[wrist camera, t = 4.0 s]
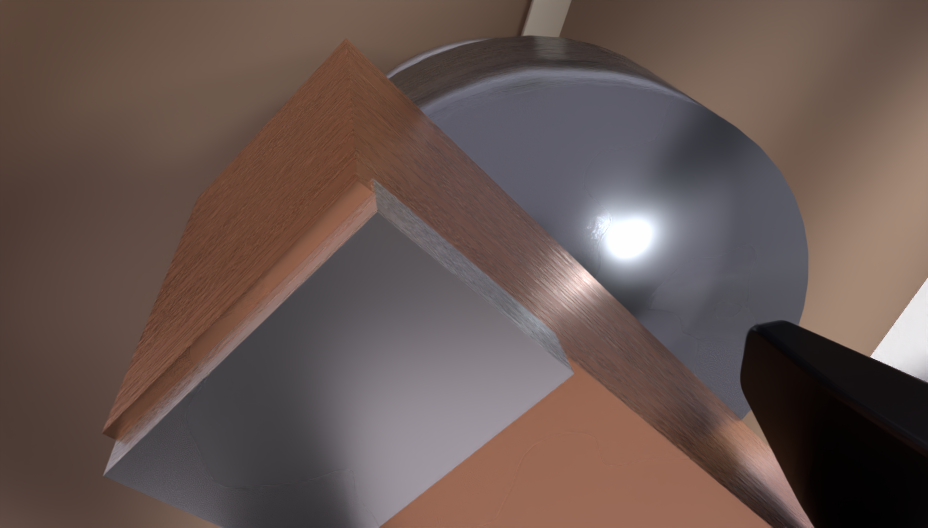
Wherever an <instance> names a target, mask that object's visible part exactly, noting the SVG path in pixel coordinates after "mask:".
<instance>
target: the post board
mask: <svg viewBox="0 0 928 528" xmlns="http://www.w3.org/2000/svg"><path fill="white" fill-rule="evenodd" d="M528 35H534V36H547V37H561V38H568V39H572V40H577V41H581V42H586V43H590V44H595V45H598V46H600V47H603V48H605V49H608V50H611V51H613V52H616V53H618V54H621V55H623V56H625V57H627V58H629V59H631V60H632V61H634V62H636V63H637V64H639V65H641V66H643V67H644V68H646V69H648V70H649V71H651V72H653V73H654V74H656V75H657V76H659V77H660V78H662V79H663V80H665V81H666V82H668V83H670V84H671V85H673V86H674V87H676V88H677V89H679V90H680V91H682V92H683V93H685V94H687V95H688V96H690V97H691V98H693V99H694V100H696V101H697V102H699V103H700V104H702V105H704V106H705V107H707V108H708V109H710V110H711V111H713V112H714V113H716V114H717V115H719V116H721V117H722V118H724V119H725V120H727V121H728V122H730V123H731V124H733V125H734V126H736V127H737V128H738V129H739V130H741V131H742V132H743V133H744V134H745V135H747V136H748V137H749V138H750V139H751V140H753V141H754V142H755V143H756V144H757V145H759V146H760V147H761V148H762V149H763V151H764V152H765V153H766V154H767V156H768V157H769V158H770V159H771V160H772V162H773V163H774V164H775V165H776V166H777V168H778V169H779V170H780V171H781V173H782V175H783V177H784V178H785V180H786V182H787V184H788V186H789V187H790V189H791V191H792V193H793V194H794V196H795V199H796V202H797V205H798V208H799V210H800V213H801V216H802V219H803V222H804V226H805V233H806V239H807V246H808V252H809V256H808V285H807V291H806V298H805V304H804V309H803V312H802V316H801V319H800V322H799V325H798V326H801V327H803V328H805V329H807V330H810V331H812V332H814V333H816V334H819V335H821V336H823V337H825V338H828V339H830V340H832V341H835V342H837V343H839V344H841V345H844V346H846V347H848V348H850V349H853V350H855V351H857V352H859V353H862V354H864V355H866V356H868V357H870V356H871V355H872V353H873V352H874V350H875V349H876V348H877V346H878V345H879V344H880V342H881V341H882V340H883V338H884V337H885V335H886V334H887V333H888V331H889V330H890V329H891V327H892V326H893V324H894V323H895V322H896V320H897V319H898V318H899V316H900V315H901V313H902V312H903V311H904V309H905V308H906V307H907V305H908V304H909V302H910V301H911V300H912V298H913V297H914V296H915V294H916V293H917V292H918V290H919V289H920V287H921V286H922V285H923V283H924V282H925V281H926V279H927V278H928V0H0V528H222V527H220V526H217V525H215V524H213V523H211V522H208V521H206V520H204V519H201V518H199V517H197V516H194V515H192V514H190V513H188V512H185V511H183V510H181V509H178V508H176V507H174V506H171V505H169V504H167V503H165V502H162V501H160V500H158V499H155V498H153V497H151V496H148V495H146V494H144V493H141V492H139V491H137V490H135V489H132V488H130V487H128V486H125V485H123V484H121V483H118V482H116V481H114V480H112V479H109V478H107V477H105V476H103V475H104V472H105V469H106V467H107V464H108V461H109V459H110V456H111V453H112V451H113V448H114V445H115V443H116V440H115V439H113V438H111V437H108V436H106V435H104V434H102V431H103V429H104V426H105V424H106V422H107V419H108V417H109V414H110V412H111V409H112V407H113V404H114V402H115V399H116V397H117V394H118V392H119V390H120V387H121V385H122V382H123V380H124V377H125V375H126V372H127V370H128V367H129V365H130V363H131V360H132V358H133V355H134V353H135V350H136V348H137V345H138V343H139V340H140V338H141V335H142V333H143V331H144V328H145V326H146V323H147V321H148V318H149V316H150V313H151V311H152V308H153V306H154V304H155V301H156V299H157V296H158V294H159V291H160V289H161V286H162V284H163V281H164V279H165V276H166V274H167V272H168V269H169V267H170V264H171V262H172V259H173V257H174V254H175V252H176V249H177V247H178V245H179V242H180V240H181V237H182V235H183V232H184V230H185V227H186V225H187V222H188V220H189V217H190V215H191V213H192V210H193V208H194V205H195V203H196V200H197V198H198V197H199V196H200V195H201V194H202V193H203V192H204V191H205V190H206V189H207V187H208V186H209V185H210V184H211V183H212V182H213V181H214V180H215V179H216V178H217V177H218V176H219V174H220V173H221V172H222V171H223V170H224V169H225V168H226V167H227V166H228V165H229V164H230V163H231V162H232V160H233V159H234V158H235V157H236V156H237V155H238V154H239V153H240V152H241V151H242V150H243V149H244V148H245V146H246V145H247V144H248V143H249V142H250V141H251V140H252V139H253V138H254V137H255V136H256V135H257V133H258V132H259V131H260V130H261V129H262V128H263V127H264V126H265V125H266V124H267V123H268V122H269V121H270V119H271V118H272V117H273V116H274V115H275V114H276V113H277V112H278V111H279V110H280V109H281V108H282V107H283V105H284V104H285V103H286V102H287V101H288V100H289V99H290V98H291V97H292V96H293V95H294V94H295V92H296V91H297V90H298V89H299V88H300V87H301V86H302V85H303V84H304V83H305V82H306V81H307V80H308V78H309V77H310V76H311V75H312V74H313V73H314V72H315V71H316V70H317V69H318V68H319V67H320V66H321V64H322V63H323V62H324V61H325V60H326V59H327V58H328V57H329V56H330V55H331V54H332V53H333V51H334V50H335V49H336V48H337V47H338V46H339V45H340V44H341V43H342V42H343V41H344V40H345V39H346V38H347V39H348V40H349V41H350V42H351V43H352V44H353V45H354V46H355V47H356V48H357V49H358V50H359V51H360V52H361V53H362V54H363V55H364V56H365V57H366V58H367V59H368V60H369V61H370V62H371V63H372V64H374V65H375V66H376V67H377V68H378V69H379V70H380V71H381V72H382V73H383V74H384V75H385V76H386V77H387V78H388V79H389V78H390V77H392V76H393V75H395V74H396V73H398V72H400V71H401V70H403V69H405V68H407V67H409V66H411V65H413V64H415V63H417V62H419V61H421V60H423V59H425V58H427V57H429V56H432V55H435V54H438V53H440V52H443V51H446V50H449V49H452V48H455V47H457V46H460V45H464V44H468V43H473V42H478V41H483V40H488V39H493V38H499V37H513V36H528ZM741 421H743V422H744V423H745V424H746V425H747V426H748V427H749V428H750V429H751V430H752V431H753V432H754V433H755V434H756V435H757V436H758V437H759V438H760V439H761V440H762V441H763V442H764V443H765V444H766V445H767V446H768V447H769V448H770V446H769V444H768V442H767V440H766V438H765V436H764V434H763V432H762V430H761V428H760V426H759V424H758V422H757V420H756V418H755V416H754V414H753V412H752V410H750V411H749V412H748V413H747V415H746V416H745V417H744V418H743V419H742V420H741ZM770 449H771V448H770Z"/></svg>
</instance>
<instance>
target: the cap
mask: <svg viewBox="0 0 928 528" xmlns="http://www.w3.org/2000/svg"><path fill="white" fill-rule="evenodd" d="M808 256H809V252H808V246H807V239H806V233H805V226H804V222H803V219H802V216H801V213H800V210H799V208H798V205H797V202H796V199H795V196H794V194H793V193H792V191H791V189H790V187H789V186H788V184H787V182H786V180H785V178H784V177H783V175H782V173H781V171H780V170H779V169H778V168H777V166H776V165H775V164H774V163H773V162H772V160H771V159H770V158H769V157H768V156H767V154H766V153H765V152H764V151H763V149H762V148H761V147H760V146H759V145H757V144H756V143H755V142H754V141H753V140H751V139H750V138H749V137H748V136H747V135H745V134H744V133H743V132H742V131H741V130H739V129H738V128H737V127H736V126H734V125H733V124H731V123H730V122H728V121H727V120H725V119H724V118H722V117H721V116H719V115H717V114H716V113H714V112H713V111H711V110H710V109H708V108H707V107H705V106H704V105H702V104H700V103H699V102H697V101H696V100H694V99H693V98H691V97H690V96H688V95H687V94H685V93H683V92H682V91H680V90H679V89H677V88H676V87H674V86H673V85H671V84H670V83H668V82H666V81H665V80H663V79H662V78H660V77H659V76H657V75H656V74H654V73H653V72H651V71H649V70H648V69H646V68H644V67H643V66H641V65H639V64H637V63H636V62H634V61H632V60H631V59H629V58H627V57H625V56H623V55H621V54H618V53H616V52H613V51H611V50H608V49H605V48H603V47H600V46H598V45H595V44H590V43H586V42H581V41H577V40H572V39H568V38H561V37H547V36H534V35H528V36H513V37H499V38H493V39H488V40H483V41H478V42H473V43H468V44H464V45H460V46H457V47H455V48H452V49H449V50H446V51H443V52H440V53H438V54H435V55H432V56H429V57H427V58H425V59H423V60H421V61H419V62H417V63H415V64H413V65H411V66H409V67H407V68H405V69H403V70H401V71H400V72H398V73H396V74H395V75H393V76H392V77H390V78H389V79H388V78H387V77H386V76H385V75H384V74H383V73H382V72H381V71H380V70H379V69H378V68H377V67H376V66H375V65H374V64H372V63H371V62H370V61H369V60H368V59H367V58H366V57H365V56H364V55H363V54H362V53H361V52H360V51H359V50H358V49H357V48H356V47H355V46H354V45H353V44H352V43H351V42H350V41H349V40H348V39H347V38H346V39H345V40H344V41H343V42H342V43H341V44H340V45H339V46H338V47H337V48H336V49H335V50H334V51H333V53H332V54H331V55H330V56H329V57H328V58H327V59H326V60H325V61H324V62H323V63H322V64H321V66H320V67H319V68H318V69H317V70H316V71H315V72H314V73H313V74H312V75H311V76H310V77H309V78H308V80H307V81H306V82H305V83H304V84H303V85H302V86H301V87H300V88H299V89H298V90H297V91H296V92H295V94H294V95H293V96H292V97H291V98H290V99H289V100H288V101H287V102H286V103H285V104H284V105H283V107H282V108H281V109H280V110H279V111H278V112H277V113H276V114H275V115H274V116H273V117H272V118H271V119H270V121H269V122H268V123H267V124H266V125H265V126H264V127H263V128H262V129H261V130H260V131H259V132H258V133H257V135H256V136H255V137H254V138H253V139H252V140H251V141H250V142H249V143H248V144H247V145H246V146H245V148H244V149H243V150H242V151H241V152H240V153H239V154H238V155H237V156H236V157H235V158H234V159H233V160H232V162H231V163H230V164H229V165H228V166H227V167H226V168H225V169H224V170H223V171H222V172H221V173H220V174H219V176H218V177H217V178H216V179H215V180H214V181H213V182H212V183H211V184H210V185H209V186H208V187H207V189H206V190H205V191H204V192H203V193H202V194H201V195H200V196H199V197H198V198H197V200H196V203H195V205H194V208H193V210H192V213H191V215H190V217H189V220H188V222H187V225H186V227H185V230H184V232H183V235H182V237H181V240H180V242H179V245H178V247H177V249H176V252H175V254H174V257H173V259H172V262H171V264H170V267H169V269H168V272H167V274H166V276H165V279H164V281H163V284H162V286H161V289H160V291H159V294H158V296H157V299H156V301H155V304H154V306H153V308H152V311H151V313H150V316H149V318H148V321H147V323H146V326H145V328H144V331H143V333H142V335H141V338H140V340H139V343H138V345H137V348H136V350H135V353H134V355H133V358H132V360H131V363H130V365H129V367H128V370H127V372H126V375H125V377H124V380H123V382H122V385H121V387H120V390H119V392H118V394H117V397H116V399H115V402H114V404H113V407H112V409H111V412H110V414H109V417H108V419H107V422H106V424H105V426H104V429H103V431H102V434H104V435H106V436H108V437H111V438H113V439H115V440H116V443H115V445H114V448H113V451H112V453H111V456H110V459H109V461H108V464H107V467H106V469H105V472H104V475H103V476H105V477H107V478H109V479H112V480H114V481H116V482H118V483H121V484H123V485H125V486H128V487H130V488H132V489H135V490H137V491H139V492H141V493H144V494H146V495H148V496H151V497H153V498H155V499H158V500H160V501H162V502H165V503H167V504H169V505H171V506H174V507H176V508H178V509H181V510H183V511H185V512H188V513H190V514H192V515H194V516H197V517H199V518H201V519H204V520H206V521H208V522H211V523H213V524H215V525H217V526H220V527H222V528H814V527H813V525H812V524H811V522H810V520H809V519H808V517H807V515H806V514H805V512H804V511H803V509H802V507H801V506H800V504H799V502H798V500H797V498H796V497H795V495H794V493H793V491H792V489H791V487H790V485H789V483H788V481H787V479H786V477H785V475H784V474H783V472H782V470H781V468H780V466H779V464H778V462H777V460H776V458H775V456H774V454H773V452H772V450H771V449H770V448H769V447H768V446H767V445H766V444H765V443H764V442H763V441H762V440H761V439H760V438H759V437H758V436H757V435H756V434H755V433H754V432H753V431H752V430H751V429H750V428H749V427H748V426H747V425H746V424H745V423H744V422H743V421H741V420H742V419H743V418H744V417H745V416H746V415H747V413H748V412H749V411H750V410H751V408H750V406H749V404H748V402H747V400H746V398H745V396H744V394H743V391H742V388H741V384H740V370H741V364H742V358H743V352H744V346H745V340H746V335H747V332H748V330H749V329H750V328H751V327H752V326H754V325H757V324H762V323H767V322H772V321H777V320H785V321H789V322H792V323H794V324H796V325H799V322H800V319H801V316H802V312H803V309H804V304H805V298H806V291H807V285H808Z"/></svg>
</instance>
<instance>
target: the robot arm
mask: <svg viewBox="0 0 928 528" xmlns="http://www.w3.org/2000/svg"><path fill="white" fill-rule="evenodd" d="M740 384H741V388H742V391H743V394H744V396H745V398H746V400H747V402H748V404H749V406H750V408H751V410H752V412H753V414H754V416H755V418H756V420H757V422H758V424H759V426H760V428H761V430H762V432H763V434H764V436H765V438H766V440H767V442H768V444H769V446H770V448H771V450H772V452H773V454H774V456H775V458H776V460H777V462H778V464H779V466H780V468H781V470H782V472H783V474H784V475H785V477H786V479H787V481H788V483H789V485H790V487H791V489H792V491H793V493H794V495H795V497H796V498H797V500H798V502H799V504H800V506H801V507H802V509H803V511H804V512H805V514H806V515H807V517H808V519H809V520H810V522H811V524H812V525H813V527H814V528H928V383H927V382H925V381H923V380H920V379H918V378H916V377H914V376H911V375H909V374H907V373H905V372H902V371H900V370H898V369H896V368H893V367H891V366H889V365H887V364H884V363H882V362H880V361H877V360H875V359H873V358H871V357H868V356H866V355H864V354H862V353H859V352H857V351H855V350H853V349H850V348H848V347H846V346H844V345H841V344H839V343H837V342H835V341H832V340H830V339H828V338H825V337H823V336H821V335H819V334H816V333H814V332H812V331H810V330H807V329H805V328H803V327H801V326H798V325H796V324H794V323H792V322H789V321H785V320H777V321H772V322H767V323H762V324H757V325H754V326H752V327H751V328H750V329H749V330H748V332H747V335H746V340H745V346H744V352H743V358H742V364H741V370H740Z"/></svg>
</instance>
